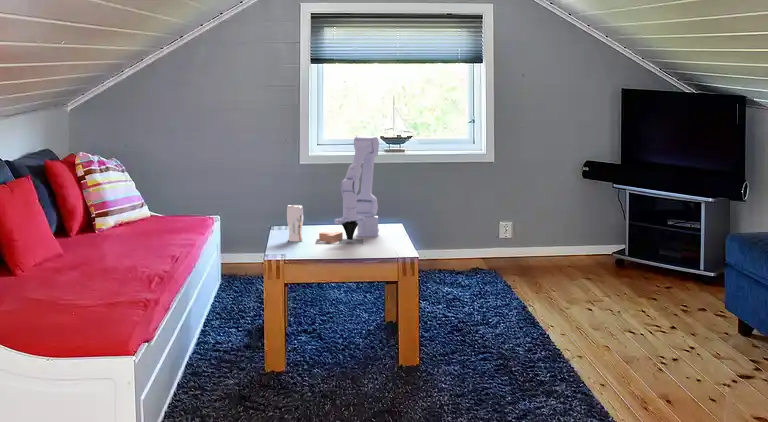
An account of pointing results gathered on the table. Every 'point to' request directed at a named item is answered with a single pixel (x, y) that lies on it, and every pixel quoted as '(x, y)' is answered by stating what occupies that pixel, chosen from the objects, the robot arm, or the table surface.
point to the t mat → (341, 241)
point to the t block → (331, 236)
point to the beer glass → (295, 222)
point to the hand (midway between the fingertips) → (349, 239)
